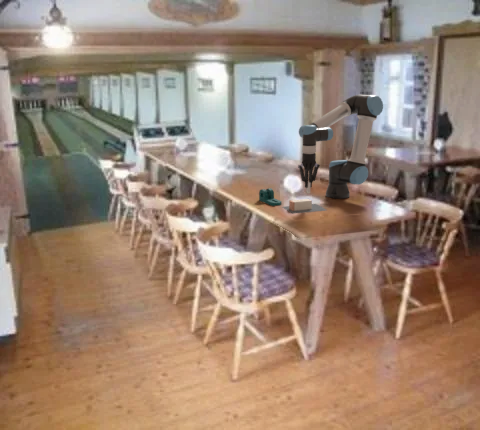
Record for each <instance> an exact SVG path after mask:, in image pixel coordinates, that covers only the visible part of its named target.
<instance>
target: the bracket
mask: <svg viewBox="0 0 480 430" xmlns="http://www.w3.org/2000/svg"><path fill="white" fill-rule="evenodd" d="M258 198H259V199H258V201H259V202H262V203H264V204H267V205H269V206H271V207H275V206H281V205H282V200H280V199H277V198H275V190H274V189H273V188H272V187H269V188H261V189H260V190H259V193H258Z"/></svg>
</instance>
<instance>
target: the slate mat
mask: <svg viewBox="0 0 480 430" xmlns="http://www.w3.org/2000/svg"><path fill="white" fill-rule="evenodd" d="M282 208H283V209H284V210H286V211H288V212H289V213H290V214H293V215H294V214H301V213H302V214H303V213H315V212H322V211H324V212H325V211H327V209H326V208H324V207H323V206H321V205H319V204H318V203H312V209H307V210H296V211H292V210H290V209H289V205H288V206H282Z"/></svg>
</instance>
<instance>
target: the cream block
mask: <svg viewBox="0 0 480 430" xmlns="http://www.w3.org/2000/svg"><path fill="white" fill-rule="evenodd" d="M288 202H289V204H288V206H289V209H290V210H292V211H296V210H307V209H312V204H313V200H311V199H309V198H302V199H300V198H299V199H292V200H289V201H288Z"/></svg>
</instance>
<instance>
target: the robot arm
mask: <svg viewBox="0 0 480 430" xmlns="http://www.w3.org/2000/svg"><path fill="white" fill-rule="evenodd" d="M383 109H384V103H383V101H382V98H381V97H380V96H379V95H375V94H355V95H353V96H350V97H349V98H346V99H344V100H343V101H341V102H340V103H339V105H338V106H337V107H335V108H333V109H332V110H330V111H328V112H327V113H324V115H322V116H321V117H319V118H317V119H316V120H314V121H312V122H311V123H310V124H306V125H300V127H299V129H298V135H299V137H300V138H302V153H301V154H302V158H301V159H302V162H301V164H298V165H297V167H298V169H299V173H300V178H301V181H302V182H304V188H305V193H306V194H307V195H310V194H311V189H312V188H313V183H314V182H315V181H316V177H317V174H318V170H319V168H320V164H319V163H317V161H316V157H317V156H316V155H317V154H316V152H317V142H324V141H325V142H327V141H331V140H332V139H333V137H334V130H333V129H332V128H331V126H333V125H334V124H336V123H337V122H339V121H340V120H342V119H343V118H345V117H350V116H352V115H355V114H356V116H357V118H358V121H357V127H356V132H355V136H354V141H353V145H352V150H351V153H350V154H351V155H350V158H348V159H337V160H332V161H330V162H329V164H328V165H329V166H328V185H327V188H326V190H325V197H327V198H331V199H340V200H341V199H347V198H350V189H349V185H348V184H352V185H358V186H359V185H362V184H364V182H365V181H366V180H367V179H368V176H369V170H368V167H367V163H366V160H365V159H366V156H367V151H368V146H369V141H370V137H371V132H372V128H373V123H374V122H375V121H376V120H377V119H378V116H379V115H381V113H383ZM303 168H304V169H303Z"/></svg>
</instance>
